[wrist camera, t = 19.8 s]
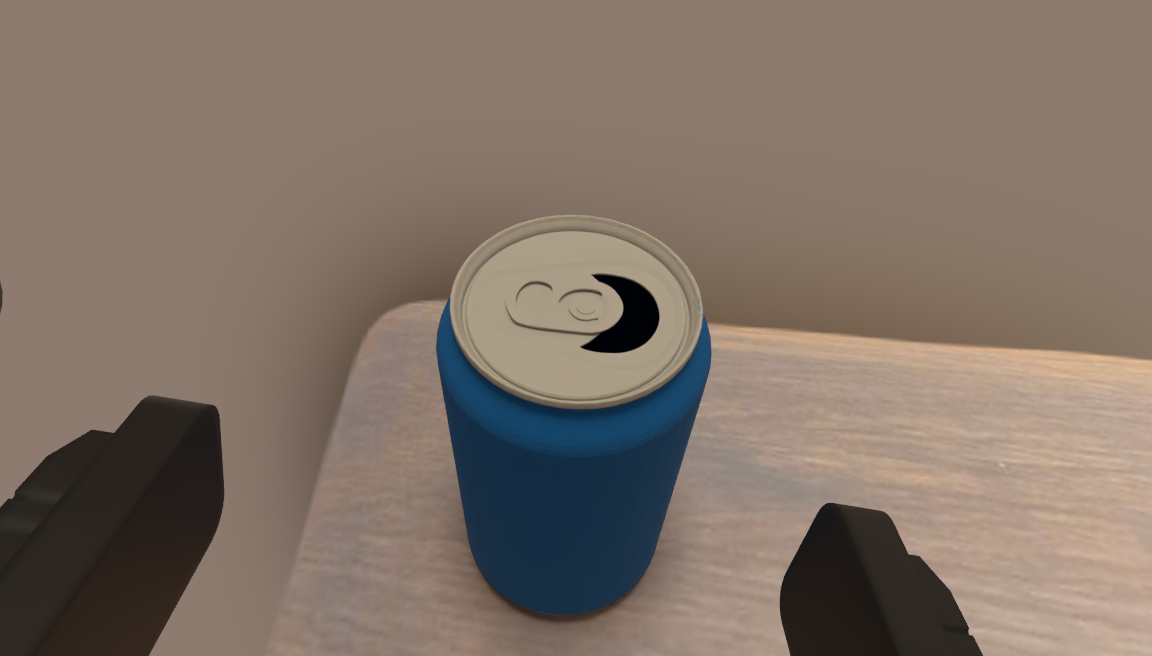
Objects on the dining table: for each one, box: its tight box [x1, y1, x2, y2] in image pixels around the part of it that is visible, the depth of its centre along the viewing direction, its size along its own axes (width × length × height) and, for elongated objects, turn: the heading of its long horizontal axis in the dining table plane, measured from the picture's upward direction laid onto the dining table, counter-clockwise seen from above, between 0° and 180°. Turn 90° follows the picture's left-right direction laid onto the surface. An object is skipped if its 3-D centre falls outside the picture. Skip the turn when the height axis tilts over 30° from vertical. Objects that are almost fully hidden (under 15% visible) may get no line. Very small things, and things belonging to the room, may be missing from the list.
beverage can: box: [436, 215, 711, 616], centre depth 21 cm, size 6×6×12 cm
